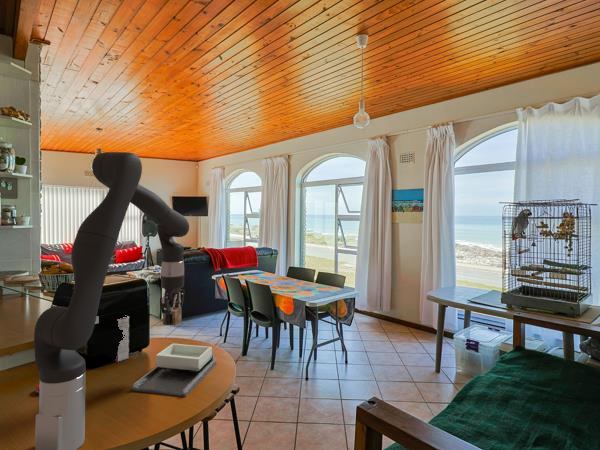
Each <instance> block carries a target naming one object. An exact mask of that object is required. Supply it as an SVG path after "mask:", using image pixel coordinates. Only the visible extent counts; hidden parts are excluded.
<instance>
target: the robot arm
mask: <svg viewBox="0 0 600 450" xmlns="http://www.w3.org/2000/svg"><path fill="white" fill-rule="evenodd" d="M91 170H92V173H93V176H94V177H95V178H96V180H97V182H99V183H100V184H102V185H103V186H105V187H107V188H108V191H107V194H105V195H106V196H105V197H104V199H103V200H102V201H101V202H100V203H99V205H97V207H95V208H94V210H93V211H92V212H90V214H89V215H87V216H86V218H85V219H84V220H83V221H82V222H81V225H80V226H79V228H78V230H77V233H76V235H75V238H74V241H73V243H72V247H71V252H70V253H71V255H70V257H71V267H72V274H73V278H74V284H73V285H74V287H73V291H72V296H71V299H70V302H69V305H68V307H66V306H52V307H49V308H47V309H46V310H44V311H43V312H42V313H41V314H40V315H39V317H38V318H37V321H36V322H35V325H34V330H33V331H34V333H33V343H34V344H33V345H34V347H33V348H34V361H35V362H34V364H35V367H36V369H37V372H38V374H39V375H38V376H39V384H40V392H39V394H38V396H39V401H38V402H39V403H38V404H39V405H38V406H39V407H38V409H39V410H38V411H39V412H38V413H37V414H35V425H34V426H35V431H34V432H35V436H34V438H35V442H34V443H35V444H34V445H35V447H34V450H79V448H81V447H82V446H83V444H84V443H85V439H86V438H85V437H86V370H87V369H86V359H85V358H84V357H83V356H82V355H80V354H79V352H77V350H79V349H81V348H82V347H84V346H85V345H86V344H87V342H88V341H89V340H90V338H91V336H92V334H93V332H94V329H95V326H96V325H95V324H96V320H97V315H98V311H99V306H100V302H101V296H102V291H103V287H104V284H105V281H106V278H107V273H108V270H109V267H110V264H111V261H112V258H113V255H114V253H115V249H116V246H117V242H118V240H119V235H120V232H121V229H122V226H123V223H124V219H125V217H126V214H127V212H128V208H129V206H130V204H132V205H134V207H136V208H137V209H138V210H140V212H142V213H143V215H145V216H146V217H147V218H148V219H149V220H150V221H151V222H152V223H154V224H156V231H157V235H158V239H159V242H160V246H161V250H162V251H161V253H162V255H161V257H162V258H161V260H162V261H161V269H160V271H161V273H160V274H161V275H160V277H161V278H160V279H161V280H160V281H161V283H160V284H161V286H160V287H161V288H162V289H164V295H163V297H159V303H160V304H159V307H160V310H161V314H162V315H163V314H165V315H166V318H165V323H166V325H165V326H172V325H171V324H172V313H173V307H179V308H181V309H182V307H183V305H184V300H185V292H186V291H185V289H182V288H184V286H185V264H184V263H185V262H184V261H185V260H184V250H185V249H184V246H183V244H181V243H178V242H176V241H175V240H174V238H182V237H185V236H186V235H187V234H188V233H189V231H190V224H189V221H188V219H187V218H186V217H185V216H184V215H182V214H181V213H179V212H178V211H177V210H175V209H173V208H172V207H170V206H169V204H167V203H166V202H165V200H163V199H162V197H160V195H157V194H156V193H154V192H153V191H152V190H150V189H148V188H146V187H144V186H143V185H141V184H139V183H140V182H141V181H140V180H141V178H142V174H143V164H142V161H141V158H140V157H139V156H138V155H137V154H135V153H134V152H129V151H128V152H127V151H126V152H125V151H106V152H100V153H98V154H97V155H95V157H94V158H93V160H92V163H91ZM169 307H170V308H169Z"/></svg>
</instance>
